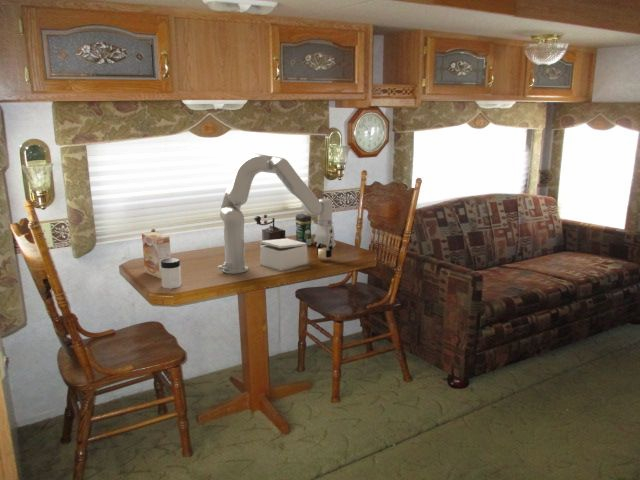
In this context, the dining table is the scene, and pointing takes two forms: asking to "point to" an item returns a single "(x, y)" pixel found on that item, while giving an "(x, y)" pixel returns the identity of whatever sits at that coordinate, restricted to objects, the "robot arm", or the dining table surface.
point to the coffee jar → (303, 228)
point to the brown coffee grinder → (270, 231)
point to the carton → (283, 257)
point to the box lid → (284, 243)
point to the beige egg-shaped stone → (322, 253)
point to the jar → (171, 273)
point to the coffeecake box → (155, 252)
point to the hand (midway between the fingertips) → (324, 255)
